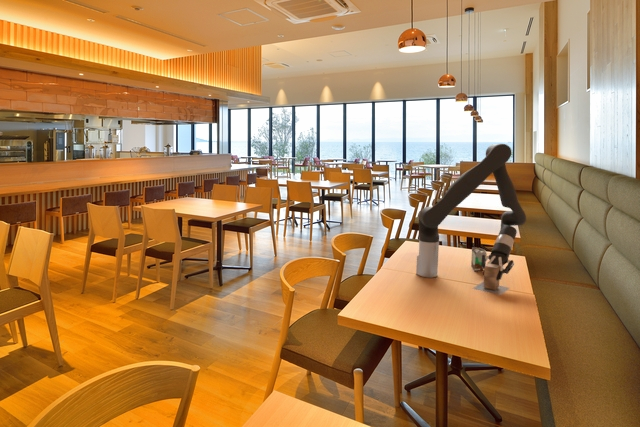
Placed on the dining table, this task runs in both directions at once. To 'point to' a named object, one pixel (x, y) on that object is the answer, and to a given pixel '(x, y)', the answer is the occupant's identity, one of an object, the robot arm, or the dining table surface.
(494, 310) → the dining table surface
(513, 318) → the dining table surface
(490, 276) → the walnut block
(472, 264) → the food container
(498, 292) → the tile
